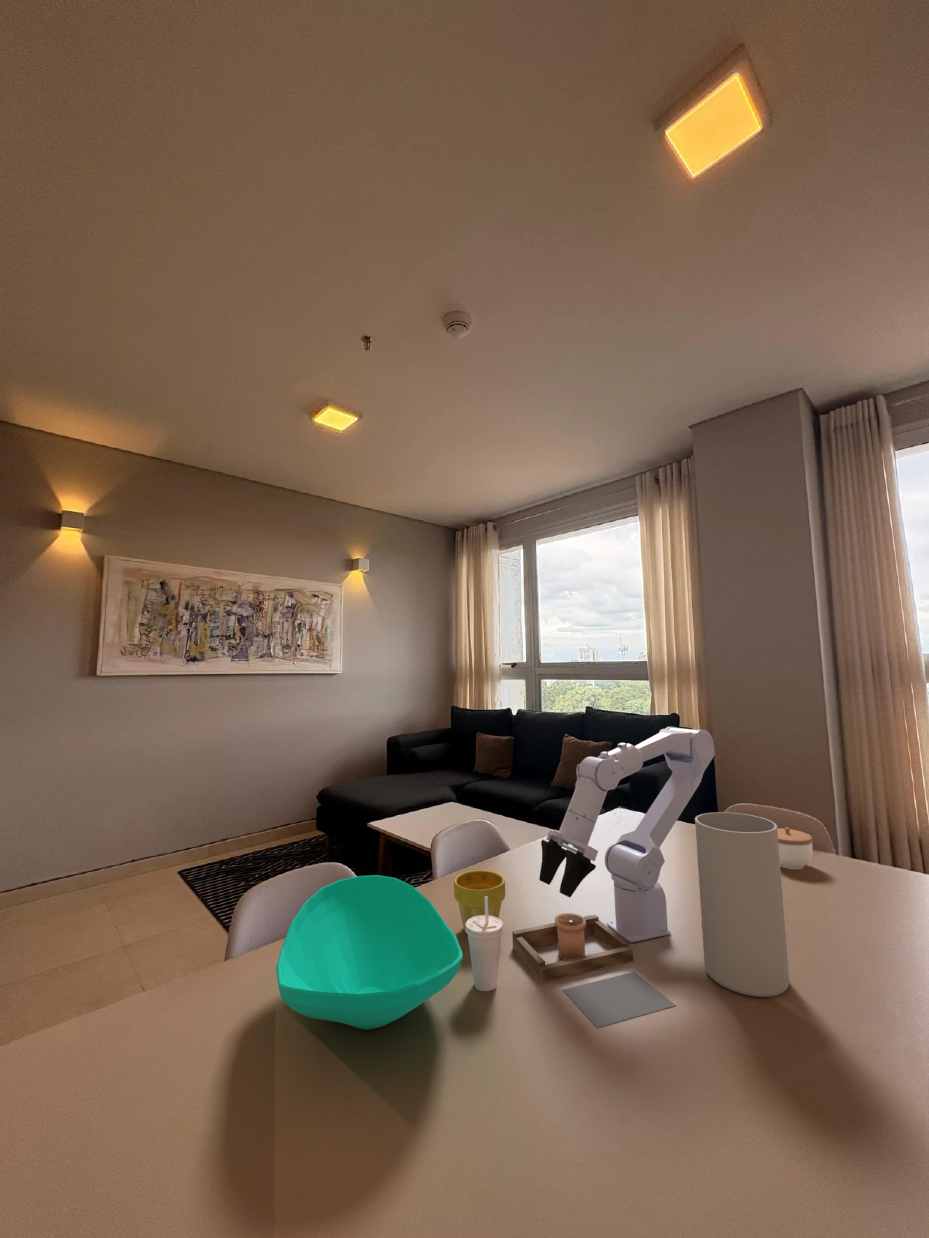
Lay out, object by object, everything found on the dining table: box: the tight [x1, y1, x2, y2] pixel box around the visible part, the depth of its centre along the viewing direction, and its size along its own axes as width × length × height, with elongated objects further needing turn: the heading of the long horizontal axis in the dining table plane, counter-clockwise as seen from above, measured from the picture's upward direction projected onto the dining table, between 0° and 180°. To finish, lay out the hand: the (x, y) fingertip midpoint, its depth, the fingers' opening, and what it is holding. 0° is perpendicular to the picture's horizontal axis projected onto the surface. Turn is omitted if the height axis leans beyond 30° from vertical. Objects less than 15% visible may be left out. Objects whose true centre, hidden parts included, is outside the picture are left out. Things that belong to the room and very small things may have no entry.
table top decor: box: [275, 874, 463, 1030], centre depth 83 cm, size 40×28×13 cm
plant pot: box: [453, 869, 506, 933], centre depth 108 cm, size 10×10×10 cm
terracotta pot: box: [554, 912, 586, 960], centre depth 98 cm, size 6×6×6 cm
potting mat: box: [562, 971, 677, 1029], centre depth 84 cm, size 14×10×1 cm
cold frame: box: [511, 914, 635, 983], centre depth 98 cm, size 18×12×3 cm, turn 109°
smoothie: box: [464, 896, 504, 992], centre depth 89 cm, size 6×6×14 cm
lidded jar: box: [777, 826, 813, 871], centre depth 138 cm, size 11×11×9 cm
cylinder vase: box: [694, 811, 790, 998], centre depth 90 cm, size 12×12×25 cm
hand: (554, 888), depth 98 cm, fingers open, 7 cm apart
